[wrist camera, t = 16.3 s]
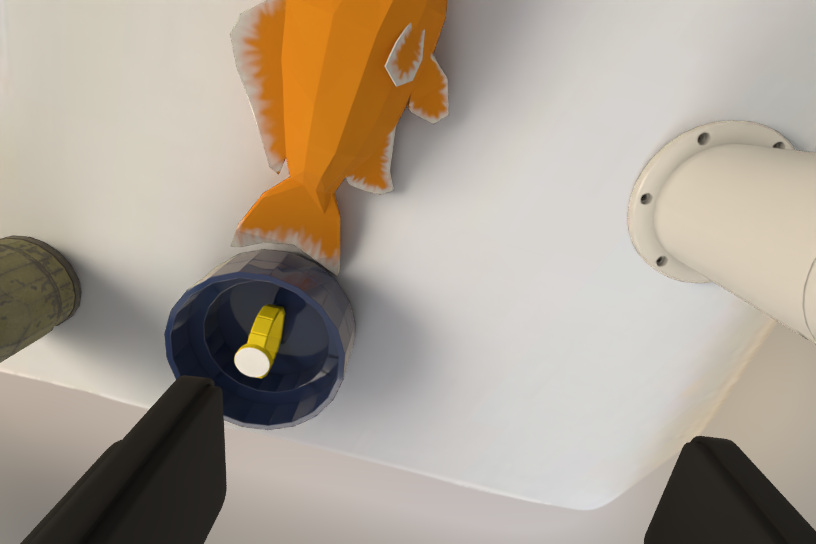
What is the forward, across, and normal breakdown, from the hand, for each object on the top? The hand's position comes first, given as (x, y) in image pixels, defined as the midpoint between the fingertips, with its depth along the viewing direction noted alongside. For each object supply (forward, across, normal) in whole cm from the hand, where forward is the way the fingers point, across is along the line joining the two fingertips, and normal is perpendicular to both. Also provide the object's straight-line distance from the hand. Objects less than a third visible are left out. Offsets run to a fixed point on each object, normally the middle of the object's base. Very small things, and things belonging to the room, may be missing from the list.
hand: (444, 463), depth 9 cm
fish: (+28, +7, -6) cm, 30 cm away
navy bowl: (+28, +12, +13) cm, 33 cm away
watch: (+28, +12, +13) cm, 33 cm away
